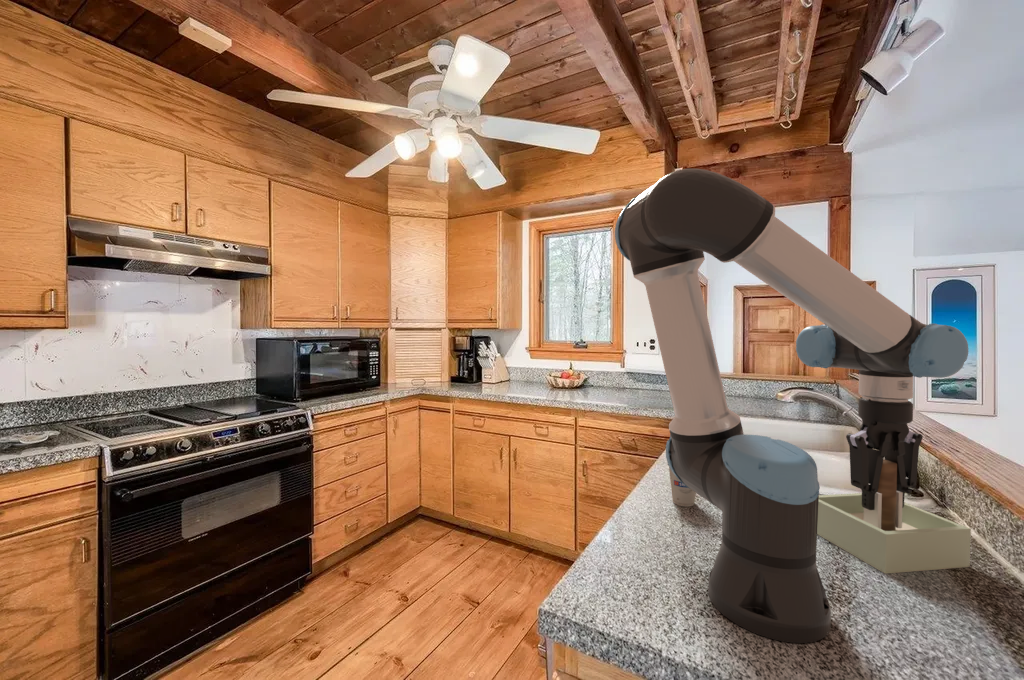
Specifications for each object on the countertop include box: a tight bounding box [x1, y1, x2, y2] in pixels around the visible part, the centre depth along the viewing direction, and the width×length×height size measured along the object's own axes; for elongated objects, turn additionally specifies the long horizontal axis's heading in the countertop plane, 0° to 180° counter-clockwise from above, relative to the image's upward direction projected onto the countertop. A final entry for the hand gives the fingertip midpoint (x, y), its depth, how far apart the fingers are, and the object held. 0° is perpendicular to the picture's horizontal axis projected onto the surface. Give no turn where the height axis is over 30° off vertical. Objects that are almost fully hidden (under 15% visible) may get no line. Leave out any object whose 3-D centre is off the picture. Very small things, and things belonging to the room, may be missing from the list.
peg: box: [877, 458, 897, 531], centre depth 79 cm, size 4×4×12 cm
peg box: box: [817, 492, 972, 575], centre depth 79 cm, size 16×16×6 cm
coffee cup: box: [667, 464, 697, 508], centre depth 99 cm, size 7×7×10 cm
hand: (882, 525), depth 79 cm, fingers closed on peg, 3 cm apart
